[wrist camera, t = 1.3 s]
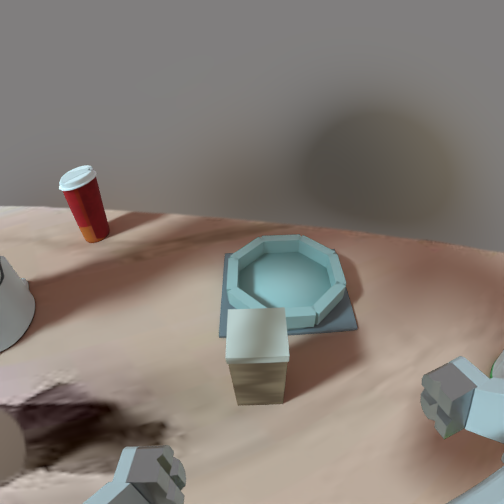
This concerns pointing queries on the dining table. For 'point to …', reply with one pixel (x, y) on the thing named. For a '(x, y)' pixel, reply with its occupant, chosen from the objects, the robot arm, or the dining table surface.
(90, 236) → the paper cup
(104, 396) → the dining table surface
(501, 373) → the cup
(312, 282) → the bowl
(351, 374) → the dining table surface
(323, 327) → the place mat
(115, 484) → the robot arm
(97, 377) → the dining table surface
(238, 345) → the lidded brown carton
